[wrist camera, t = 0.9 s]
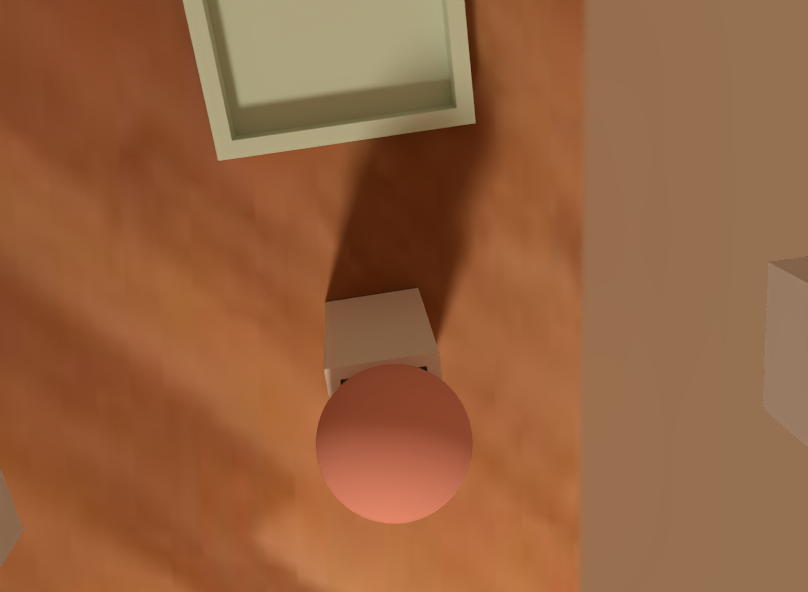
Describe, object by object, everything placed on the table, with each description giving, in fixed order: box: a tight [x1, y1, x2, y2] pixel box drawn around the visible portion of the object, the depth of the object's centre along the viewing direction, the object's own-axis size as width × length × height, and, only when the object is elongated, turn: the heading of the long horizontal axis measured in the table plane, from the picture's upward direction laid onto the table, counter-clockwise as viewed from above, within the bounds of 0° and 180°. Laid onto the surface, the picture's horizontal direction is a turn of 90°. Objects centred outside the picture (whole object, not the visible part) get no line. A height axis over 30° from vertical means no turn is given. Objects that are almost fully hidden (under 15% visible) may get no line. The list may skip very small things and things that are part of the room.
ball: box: [316, 364, 472, 523], centre depth 31 cm, size 6×6×6 cm
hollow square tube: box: [324, 288, 442, 398], centre depth 37 cm, size 5×5×8 cm
